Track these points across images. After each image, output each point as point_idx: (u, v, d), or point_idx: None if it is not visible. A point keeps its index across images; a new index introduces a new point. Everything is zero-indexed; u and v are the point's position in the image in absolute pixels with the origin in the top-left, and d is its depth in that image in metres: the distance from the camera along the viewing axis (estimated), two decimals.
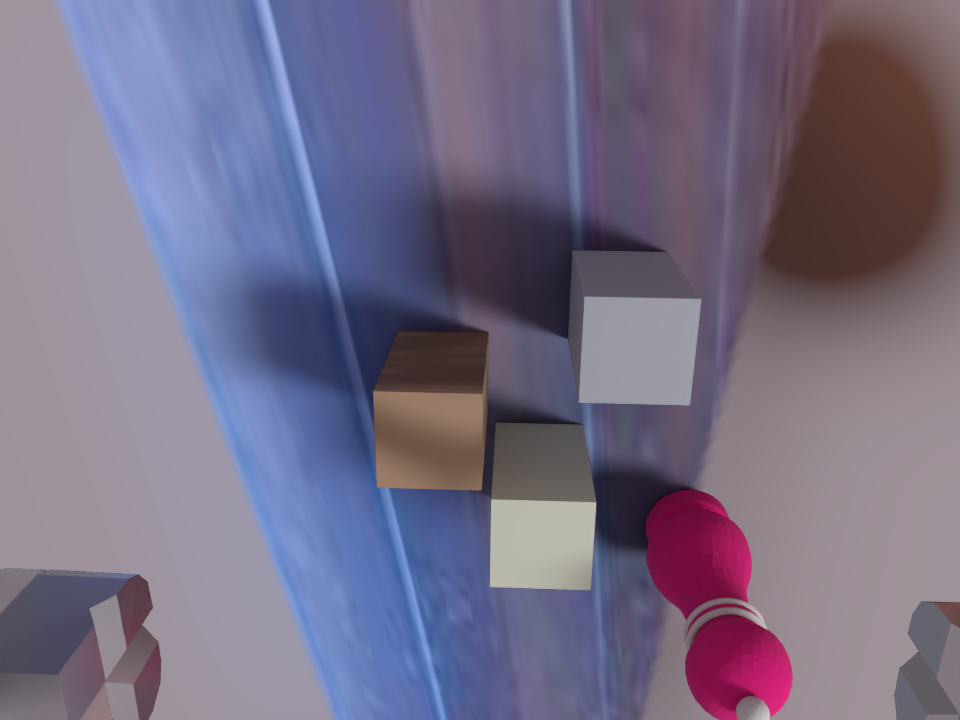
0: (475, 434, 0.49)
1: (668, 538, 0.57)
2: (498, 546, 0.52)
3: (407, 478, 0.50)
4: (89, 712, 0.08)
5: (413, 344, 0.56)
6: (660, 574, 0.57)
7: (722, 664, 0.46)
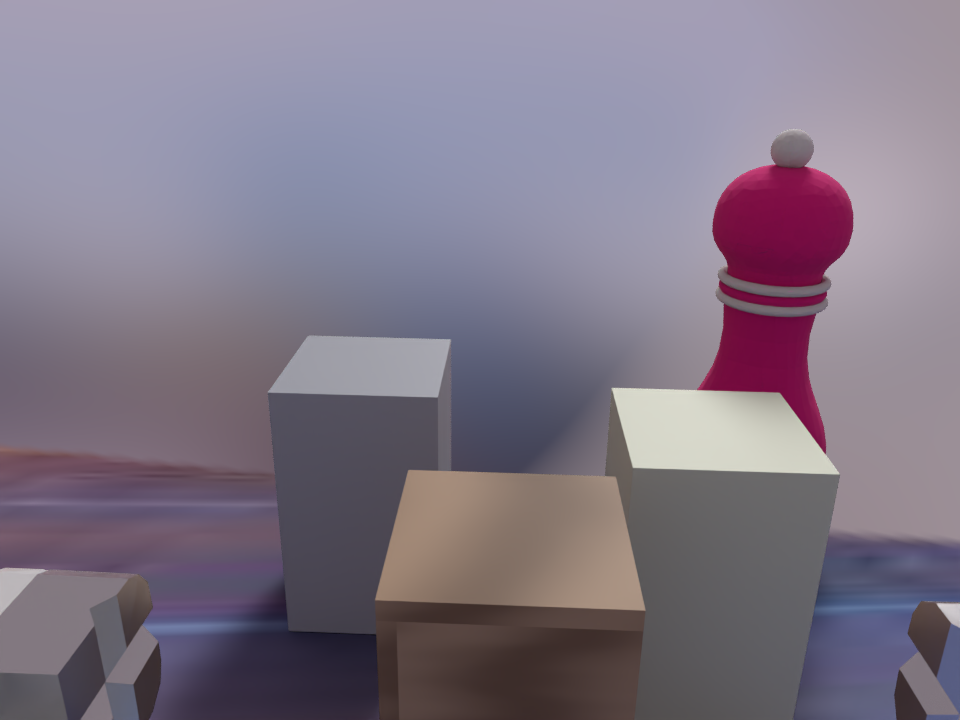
0: (492, 478, 0.25)
1: None
2: (737, 463, 0.26)
3: (608, 562, 0.21)
4: (89, 711, 0.08)
5: None
6: None
7: (752, 190, 0.36)
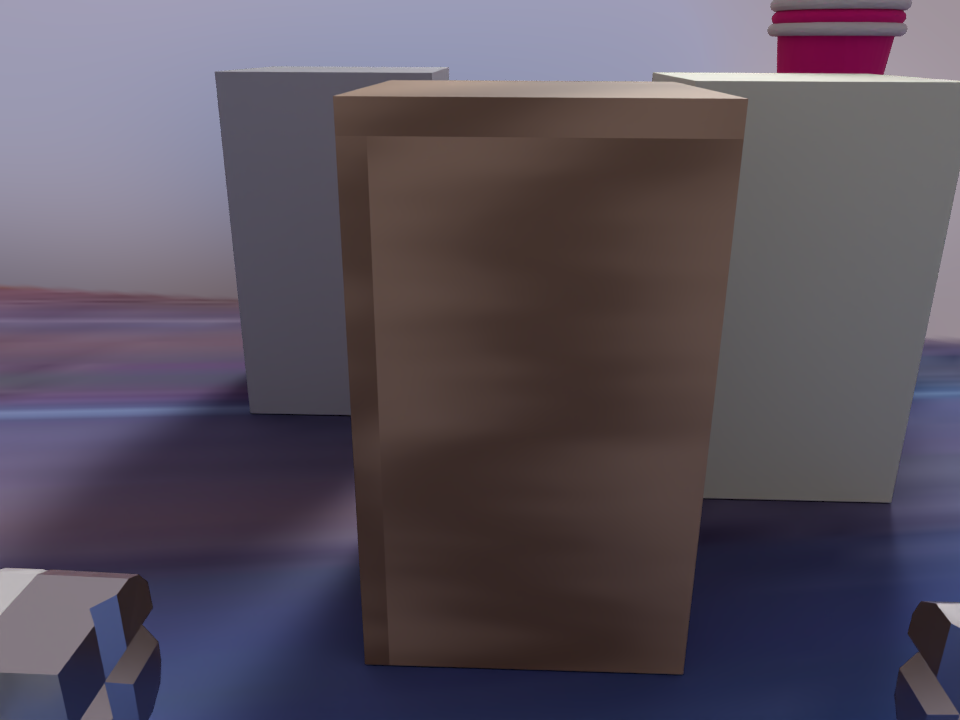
0: (505, 81, 0.18)
1: None
2: (835, 80, 0.20)
3: (680, 91, 0.14)
4: (88, 712, 0.08)
5: None
6: None
7: None
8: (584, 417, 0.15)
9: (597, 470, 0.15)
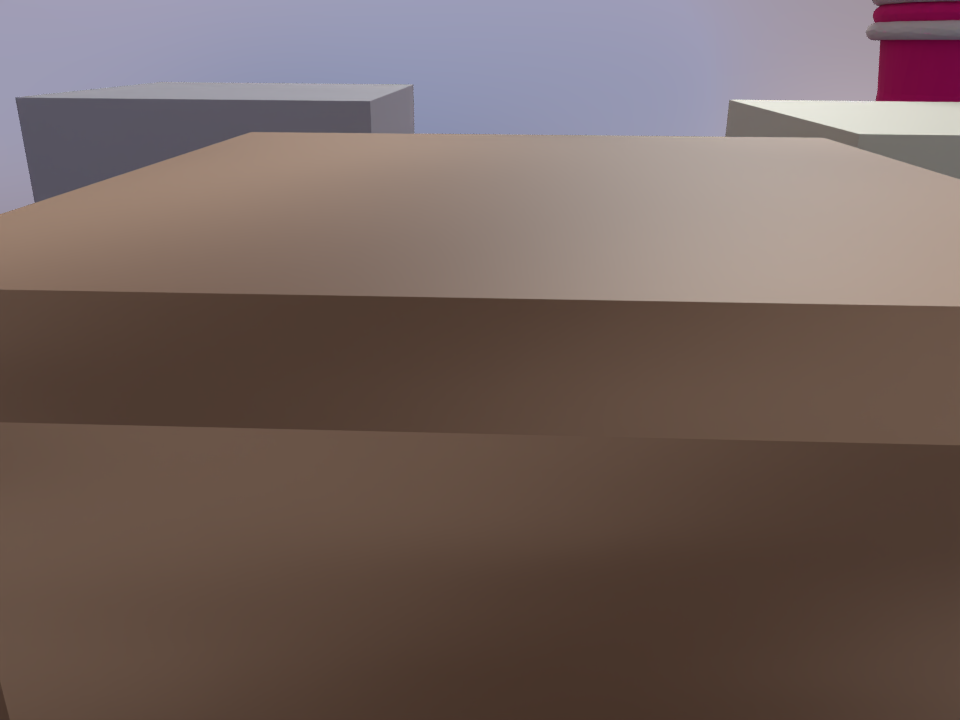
0: (480, 138, 0.09)
1: None
2: None
3: None
4: None
5: None
6: None
7: None
8: None
9: None
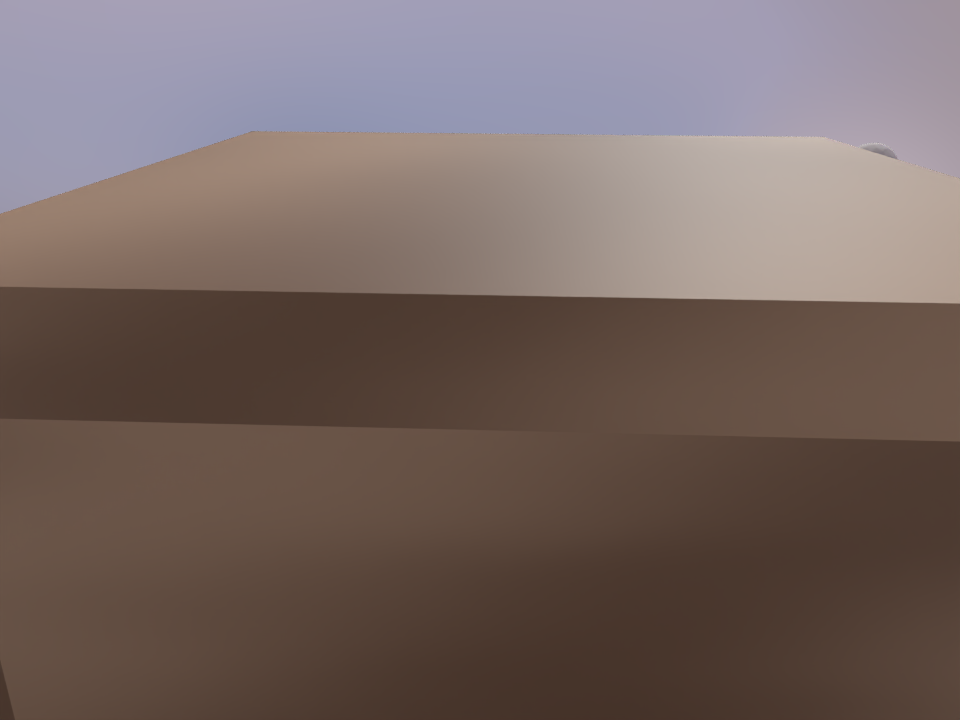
0: (481, 137, 0.09)
1: None
2: None
3: None
4: None
5: None
6: None
7: None
8: None
9: None
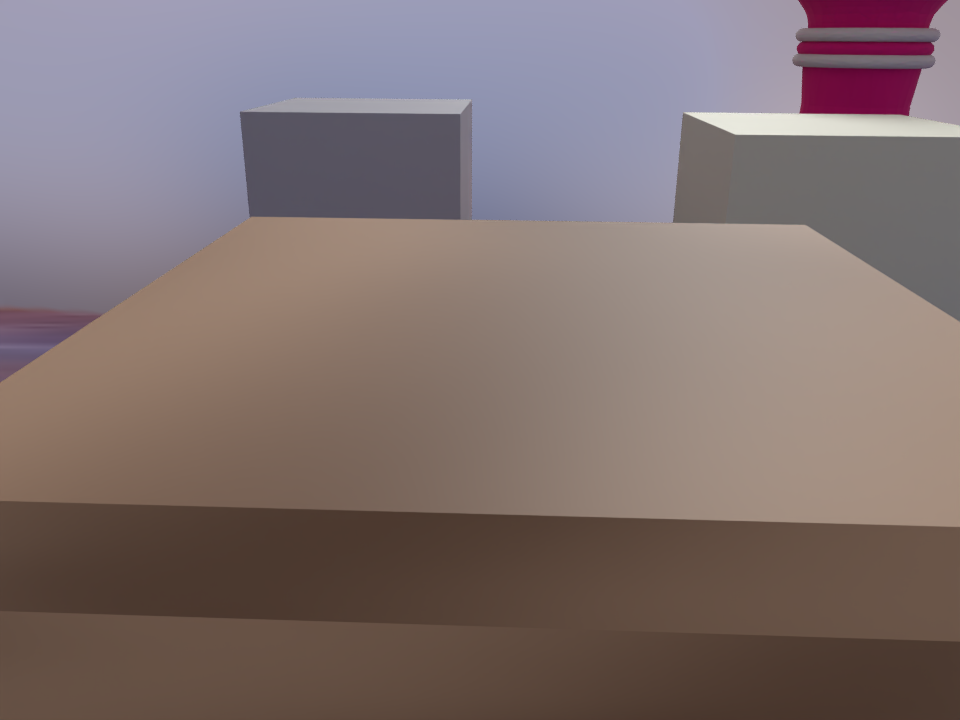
0: (474, 227, 0.09)
1: None
2: (876, 134, 0.19)
3: (927, 368, 0.05)
4: None
5: None
6: None
7: None
8: None
9: None
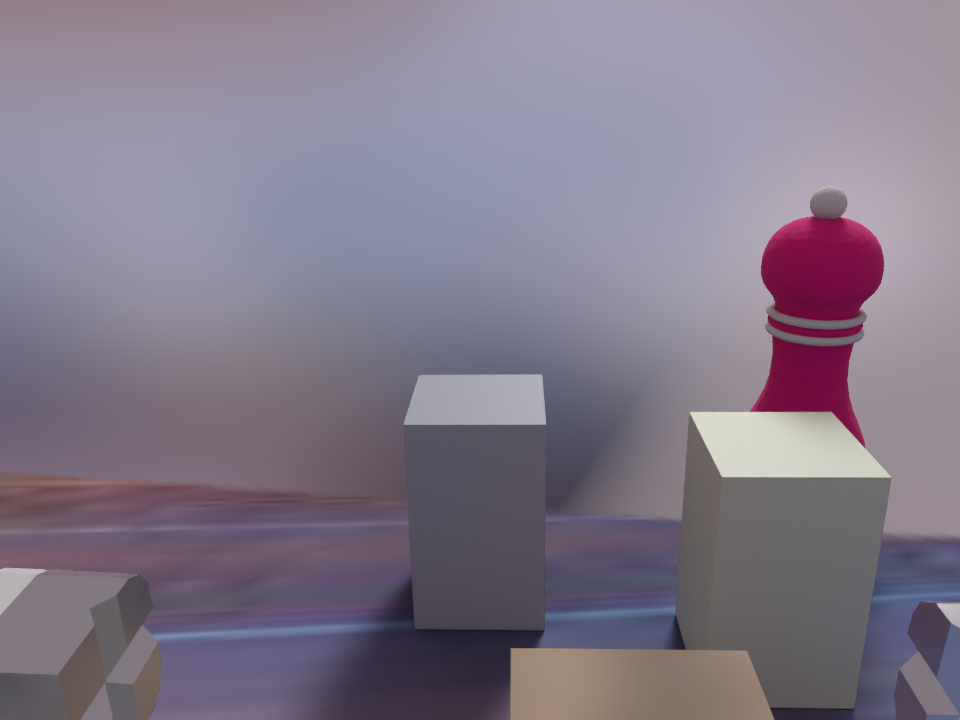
0: (608, 658, 0.22)
1: None
2: (806, 471, 0.32)
3: None
4: (89, 711, 0.08)
5: None
6: None
7: (796, 240, 0.42)
8: None
9: None
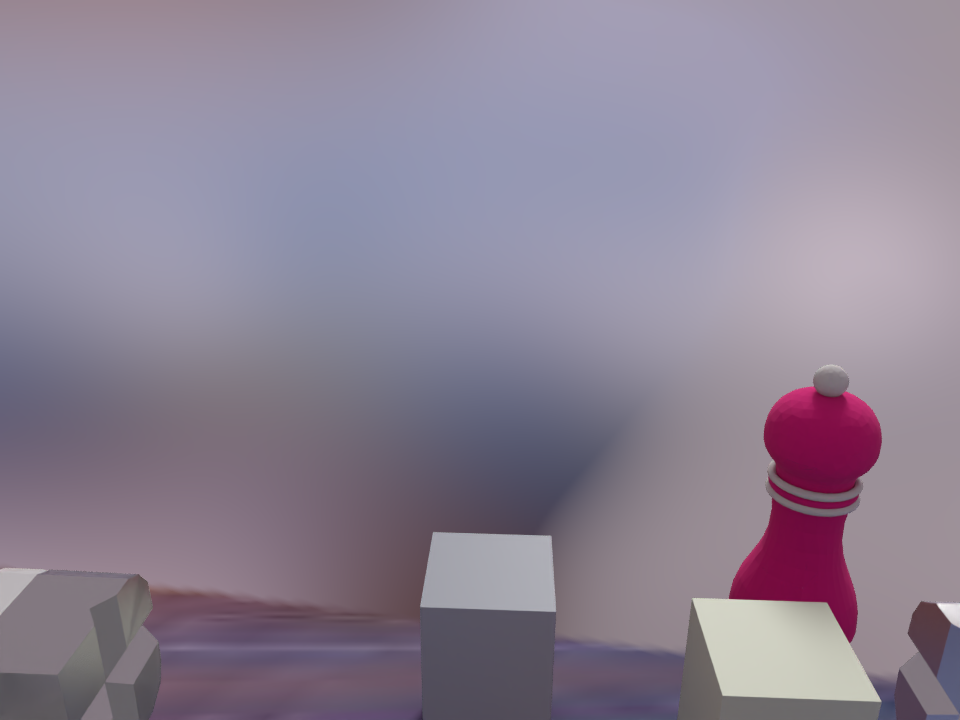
0: None
1: None
2: (801, 690, 0.34)
3: None
4: (89, 710, 0.08)
5: None
6: None
7: (799, 418, 0.44)
8: None
9: None
